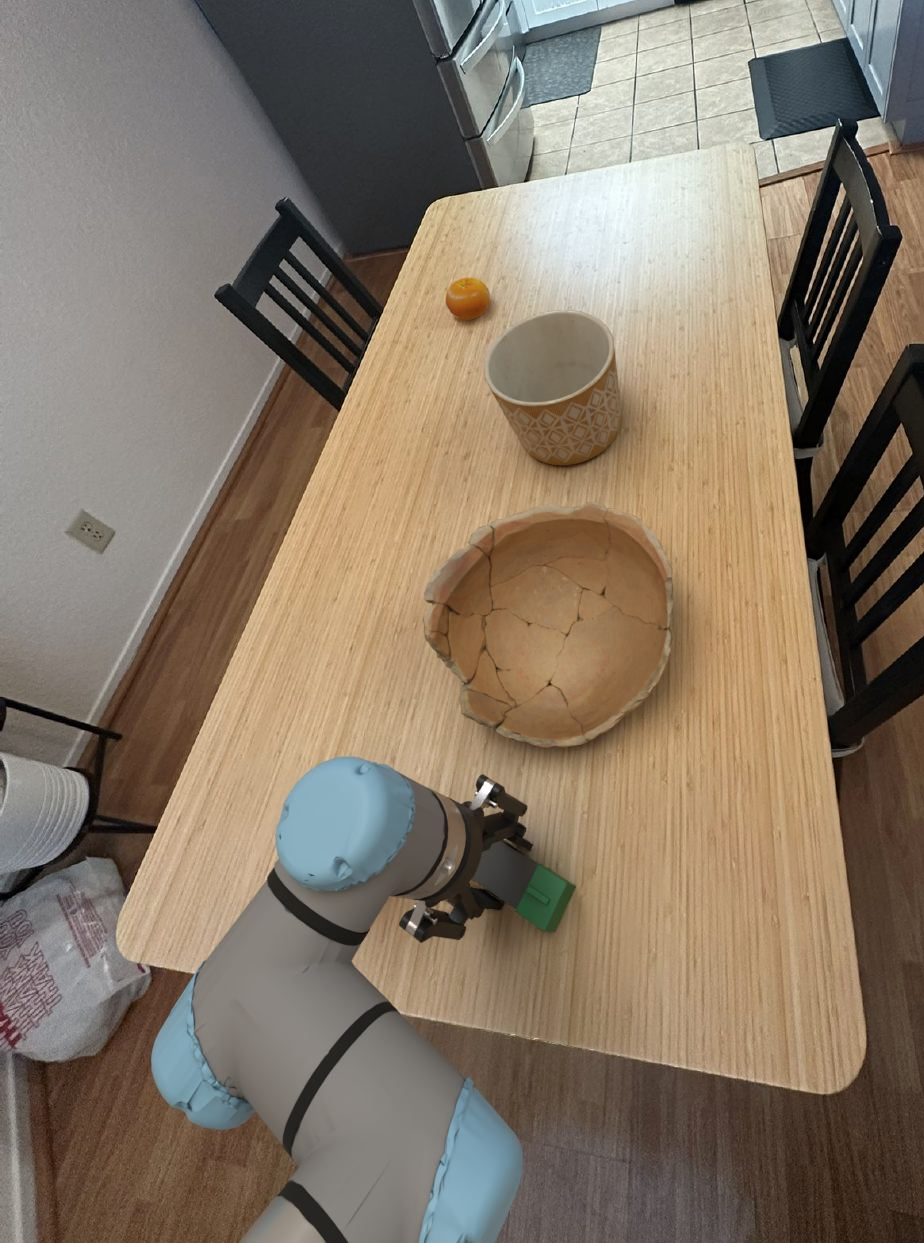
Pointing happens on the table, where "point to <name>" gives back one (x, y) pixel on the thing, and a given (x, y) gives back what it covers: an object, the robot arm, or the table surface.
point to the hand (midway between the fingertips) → (507, 869)
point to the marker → (524, 885)
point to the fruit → (468, 298)
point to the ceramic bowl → (554, 621)
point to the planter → (557, 385)
